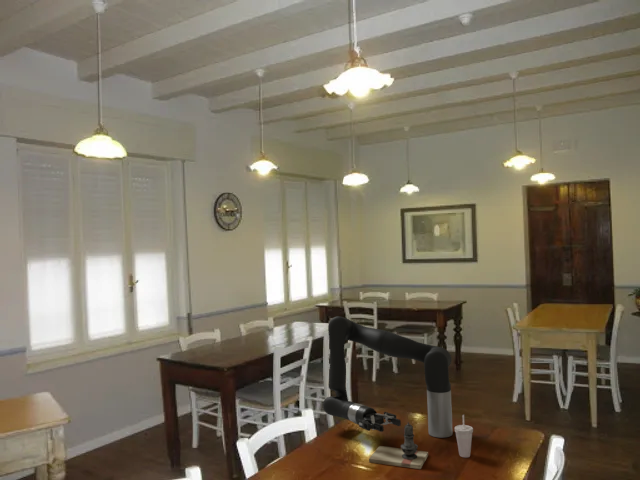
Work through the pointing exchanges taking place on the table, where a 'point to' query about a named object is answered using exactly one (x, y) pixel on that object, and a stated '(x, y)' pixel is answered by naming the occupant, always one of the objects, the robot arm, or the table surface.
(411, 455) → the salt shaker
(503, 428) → the table surface
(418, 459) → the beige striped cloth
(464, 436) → the smoothie
